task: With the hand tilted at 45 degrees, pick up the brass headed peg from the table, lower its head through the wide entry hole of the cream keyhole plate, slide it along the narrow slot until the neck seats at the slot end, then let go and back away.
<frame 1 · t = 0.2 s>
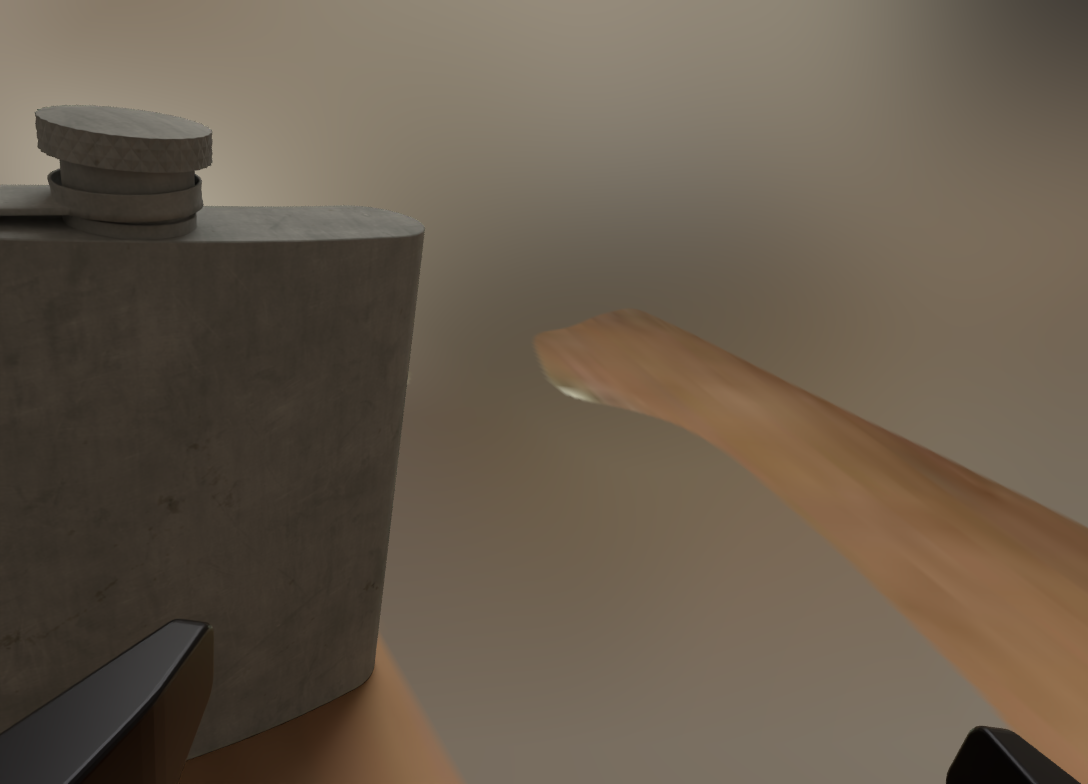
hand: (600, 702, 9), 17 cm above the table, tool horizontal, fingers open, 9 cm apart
hip flask: (154, 730, 26), on the table
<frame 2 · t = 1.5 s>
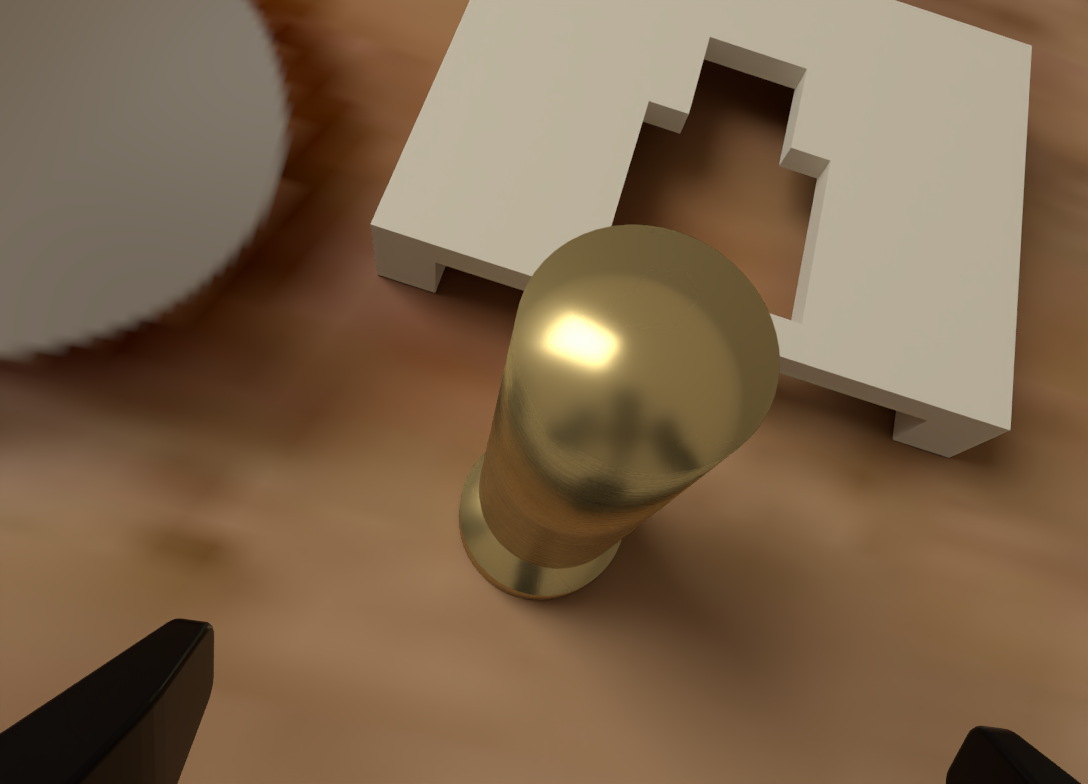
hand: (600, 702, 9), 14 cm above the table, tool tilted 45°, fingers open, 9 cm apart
keyhole plate: (706, 199, 28), on the table
brass peg: (538, 518, 24), on the table
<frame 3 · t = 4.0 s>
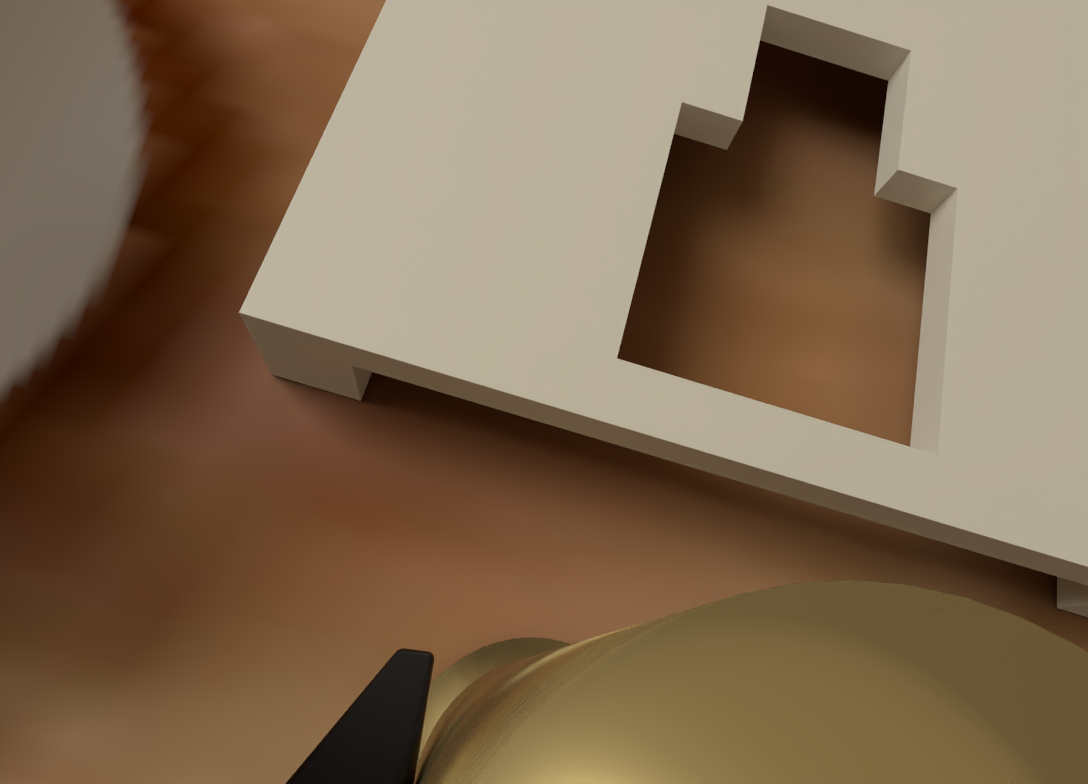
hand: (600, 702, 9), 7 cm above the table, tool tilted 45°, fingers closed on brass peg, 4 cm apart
keyhole plate: (762, 243, 20), on the table
brass peg: (523, 774, 15), on the table, touching gripper
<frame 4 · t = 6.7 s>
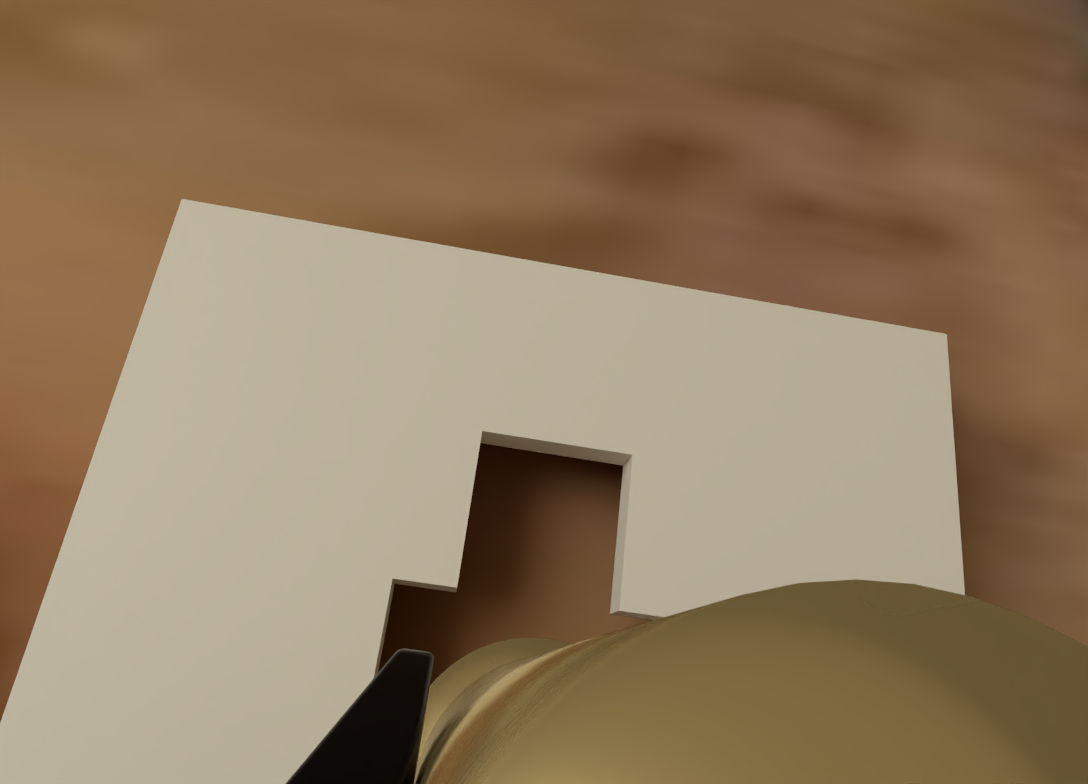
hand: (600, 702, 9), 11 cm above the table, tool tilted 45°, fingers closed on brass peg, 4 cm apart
keyhole plate: (520, 639, 20), on the table
brass peg: (523, 774, 15), point 4 cm above the table, touching gripper
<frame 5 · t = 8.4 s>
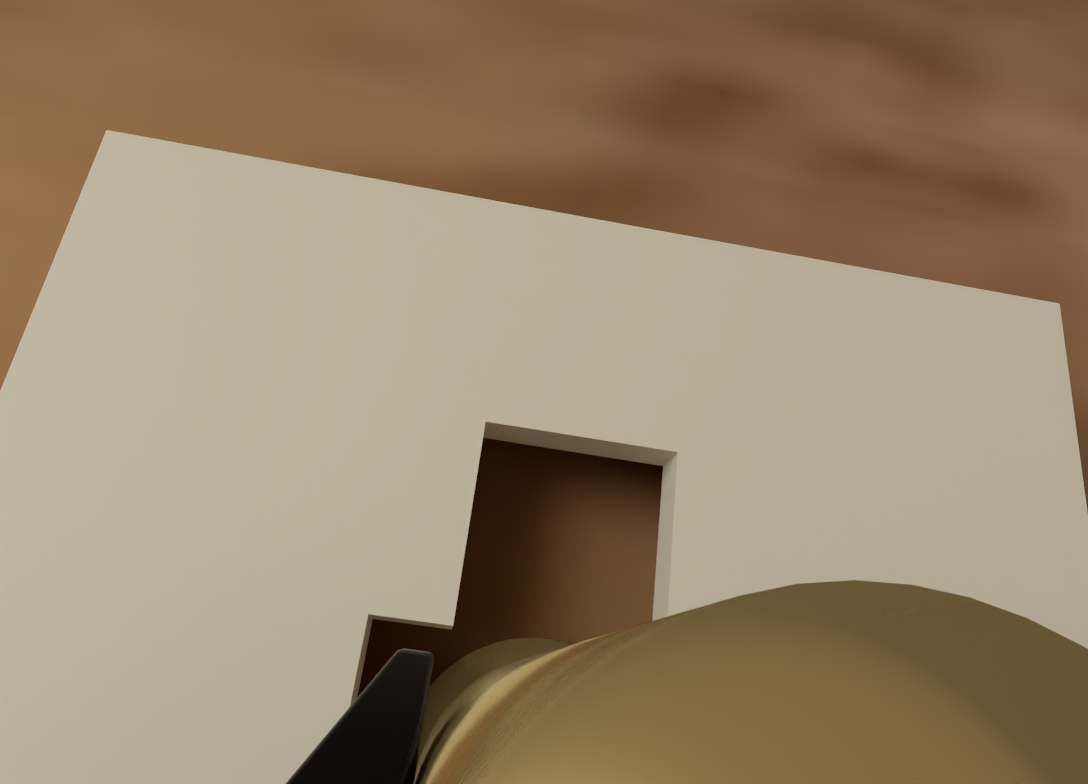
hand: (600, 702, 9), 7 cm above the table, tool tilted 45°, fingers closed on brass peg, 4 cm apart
keyhole plate: (533, 684, 16), on the table
brass peg: (523, 774, 15), on the table, touching gripper
when the fingers open (7 cm above the table, at t = 9.8 s): brass peg stays where it is, on the table.
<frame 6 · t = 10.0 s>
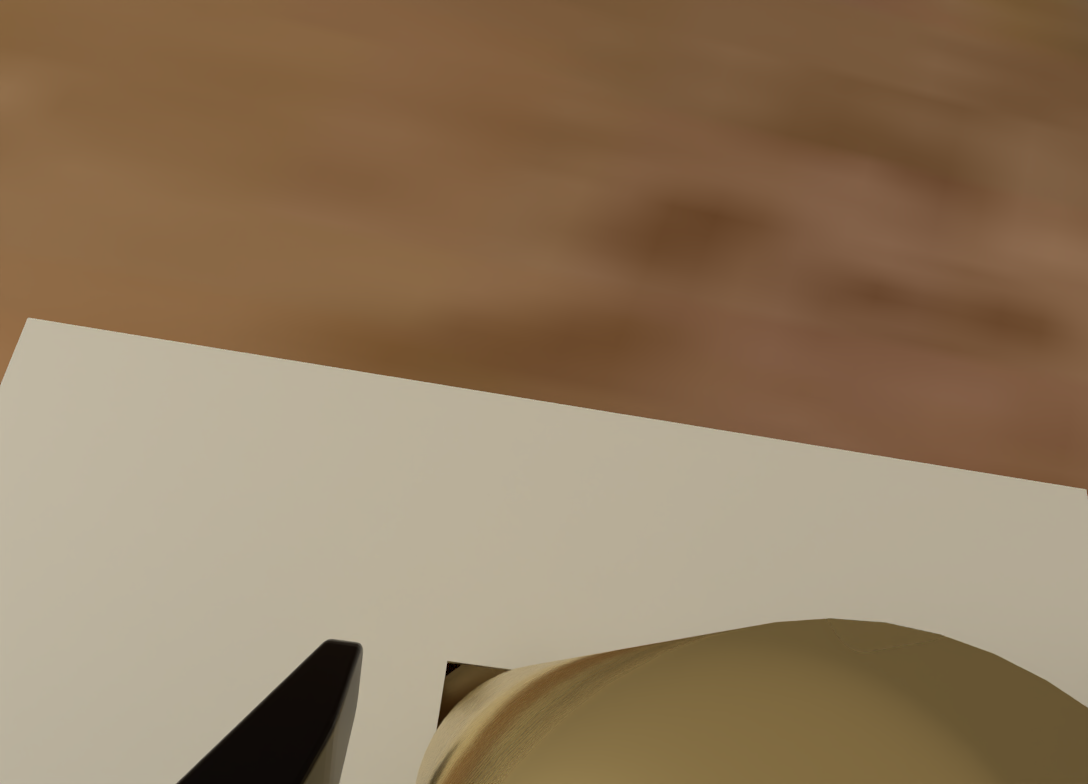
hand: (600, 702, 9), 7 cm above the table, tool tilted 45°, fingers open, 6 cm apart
brass peg: (522, 778, 15), on the table
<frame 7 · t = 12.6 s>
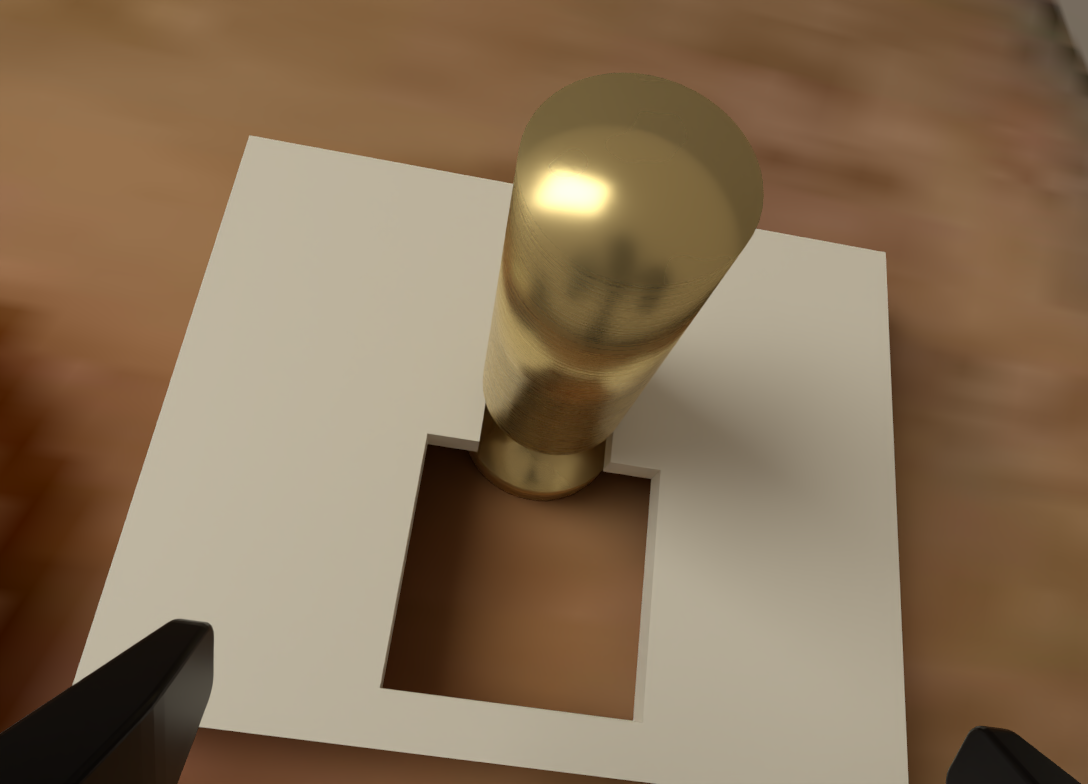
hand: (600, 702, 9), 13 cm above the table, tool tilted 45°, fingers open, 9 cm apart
keyhole plate: (529, 501, 24), on the table
brass peg: (539, 425, 24), on the table
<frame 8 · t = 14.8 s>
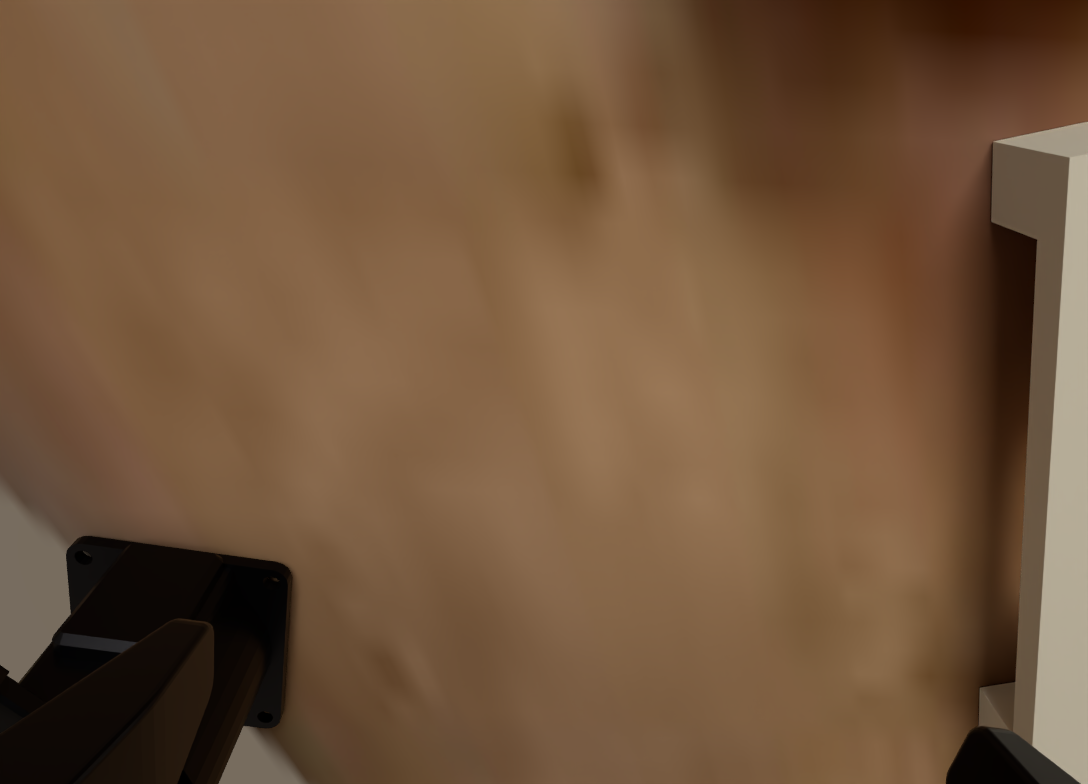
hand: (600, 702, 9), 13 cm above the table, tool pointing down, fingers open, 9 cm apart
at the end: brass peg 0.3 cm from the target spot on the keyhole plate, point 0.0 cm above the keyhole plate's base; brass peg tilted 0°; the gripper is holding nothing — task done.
